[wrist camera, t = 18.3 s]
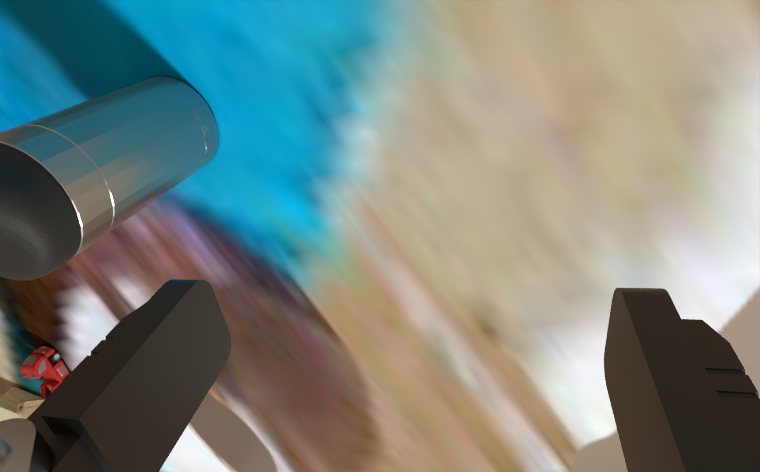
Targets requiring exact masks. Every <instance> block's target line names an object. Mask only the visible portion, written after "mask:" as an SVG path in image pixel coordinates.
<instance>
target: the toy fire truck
mask: <svg viewBox="0 0 760 472" xmlns="http://www.w3.org/2000/svg"><path fill="white" fill-rule="evenodd" d="M60 358H61V354H60V353H59V352H55V350H54V349H53V348H50V347H46V346H42V347H39V348H38V349H37V350H35V351H34V352H33V353H32V354H31V355H30V356H28V357H27V358H26V359H25V361H24V362H23V363H22V365H21V368H20V372H21V373H22V374H23V378H33V379H34V378H35V379H39V378H40V377H41V376H43V377H44V379H45V382H43V383H42V384H41V385H40V388H41V395H42V399H32V400H22V401H19V402H18V407H17V412H16V413H17V415H20V418H24V419H27V418H28V417H29V416H30V414H32V413H33V412H34V411H35V410H36V409H37V408H38V407H39V406H40V405H41V403H42V402H43V401H44V400H45V399H46V398H47V397H48V396H49V395H50V394H51V393H52V392H53V391H54V390H55V389H56V388H57V387H58V386H59V385H60V384H61V383H62V382H63V381H64V379H65V378H66V377H67V376H68V375H69V373H70V372H69V371H68V369H67V367H66V366H65V365H64V363H63V362H62V360H60Z"/></svg>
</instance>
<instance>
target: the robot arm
mask: <svg viewBox="0 0 760 472" xmlns="http://www.w3.org/2000/svg"><path fill="white" fill-rule="evenodd" d="M217 146H218V129H217V124H216V121H215V119H214V116H213V114H212V112H211V110H210V108H209V107H208V105H207V103H206V102H205V101H204V100H203V98H202V97H201V96H200V95H199V94H198V93H197V92H196V91H195V90H194V89H192V88H191V87H190V86H188V85H187V84H185V83H184V82H182V81H179V80H177V79H174V78H171V77H165V76H159V77H153V78H150V79H147V80H144V81H141V82H139V83H136V84H133V85H130V86H127V87H124V88H121V89H118V90H116V91H113V92H110V93H107V94H105V95H102V96H99V97H96V98H94V99H91V100H88V101H85V102H83V103H80V104H77V105H74V106H72V107H69V108H66V109H64V110H61V111H58V112H55V113H53V114H50V115H47V116H44V117H42V118H39V119H36V120H33V121H31V122H28V123H25V124H22V125H20V126H17V127H15V128H12V129H9V130H7V131H4V132H1V133H0V277H3V278H7V279H13V280H33V279H37V278H40V277H42V276H45V275H47V274H49V273H51V272H52V271H54V270H56V269H57V268H58V267H60V266H61V265H63V264H64V263H66V262H67V261H68V260H70V259H71V258H73V257H74V256H75V255H77V254H78V253H80V252H81V251H83V250H84V249H85V248H87V247H88V246H90V245H91V244H93V243H94V242H96V241H97V240H98V239H100V238H101V237H102V236H104V235H105V234H107V233H108V232H110V231H111V230H112V229H114V228H115V227H117V226H118V225H120V224H121V223H123V222H124V221H125V220H127V219H128V218H130V217H131V216H133V215H134V214H135V213H137V212H138V211H140V210H141V209H143V208H144V207H146V206H147V205H148V204H150V203H151V202H153V201H154V200H156V199H157V198H159V197H160V196H161V195H163V194H164V193H166V192H167V191H169V190H170V189H172V188H173V187H174V186H176V185H177V184H179V183H180V182H182V181H183V180H185V179H186V178H188V177H189V176H190V175H192V174H193V173H195V172H196V171H198V170H199V169H201V168H202V167H203V166H205V165H206V164H208V163H209V162H210V160H211V159H212V158H213V157H214V155H215V153H216V150H217ZM230 348H231V338H230V333H229V330H228V328H227V325H226V322H225V320H224V317H223V315H222V312H221V309H220V307H219V304H218V301H217V299H216V296H215V294H214V291H213V288H212V286H211V285H210V284H209V283H208V282H207V281H205V280H169V281H167V282H166V283H165V284H164V285H163V286H162V287H161V288H160V289H159V290H158V291H157V292H156V293H155V294H154V295H153V296H152V297H151V299H150V300H149V301H148V302H147V303H145V304H144V305H142V306H141V307H139V308H138V309H136V310H135V311H133V312H132V313H130V314H129V315H127V316H126V317H124V318H123V319H122V320H121V321H120V322H119V323H118V324H117V325H116V326H115V327H114V328H113V329H112V330H111V331H110V333H109V334H108V335H107V336H106V340H102V341H101V342H100V343H99V344H98V345H97V346H96V347H95V348H94V349H93V350H92V351H91V356H87V357H86V358H85V359H84V360H83V361H82V362H81V363H80V364H79V365H78V366H77V367H76V368H75V369H74V370H73V371H72V372H71V373H70V374H69V375H68V376H67V377H66V378H65V379H64V381H63V382H62V383H61V384H60V385H59V386H58V387H57V388H56V389H55V390H54V391H53V392H52V393H51V394H50V395H49V396H48V397H47V398H46V399H45V400H44V401H43V402H42V403H41V405H40V406H39V407H38V408H37V409H36V410H35V411H34V412H33V413H32V414H31V415H30V416H29V417H28V418H27V419H24V418H13V419H7V420H3V421H0V472H159V470H160V469H161V467H162V465H163V464H164V462H165V461H166V459H167V457H168V456H169V454H170V453H171V451H172V449H173V448H174V446H175V444H176V443H177V441H178V440H179V438H180V436H181V435H182V433H183V432H184V430H185V428H186V427H187V425H188V423H189V422H190V420H191V419H192V417H193V415H194V414H195V412H196V411H197V409H198V407H199V406H200V404H201V402H202V401H203V399H204V398H205V396H206V394H207V393H208V391H209V390H210V388H211V386H212V385H213V383H214V382H215V380H216V378H217V377H218V375H219V373H220V372H221V370H222V369H223V367H224V365H225V364H226V362H227V360H228V357H229V354H230ZM604 371H605V380H606V386H607V390H608V394H609V398H610V402H611V406H612V410H613V414H614V418H615V422H616V426H617V430H618V434H619V438H620V442H621V446H622V450H623V454H624V458H625V462H626V465H627V469H628V472H760V399H759V398H758V392H757V390H756V388H755V386H754V384H753V383H752V381H751V379H750V378H749V376H748V375H745V369H744V367H743V366H742V364H741V362H740V360H739V359H738V357H737V355H736V353H735V352H734V350H733V348H732V347H731V345H730V343H729V342H728V341H727V340H725V339H724V338H723V337H722V336H721V335H720V334H718V333H717V332H716V331H715V330H714V329H712V328H711V327H710V326H709V325H708V324H706V323H705V322H704V321H703V320H689V319H681V318H680V316H679V314H678V312H677V310H676V308H675V306H674V304H673V302H672V300H671V297H670V295H669V294H668V292H667V291H666V290H665V289H654V288H616V289H615V291H614V294H613V299H612V305H611V312H610V319H609V325H608V332H607V339H606V345H605V353H604Z"/></svg>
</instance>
